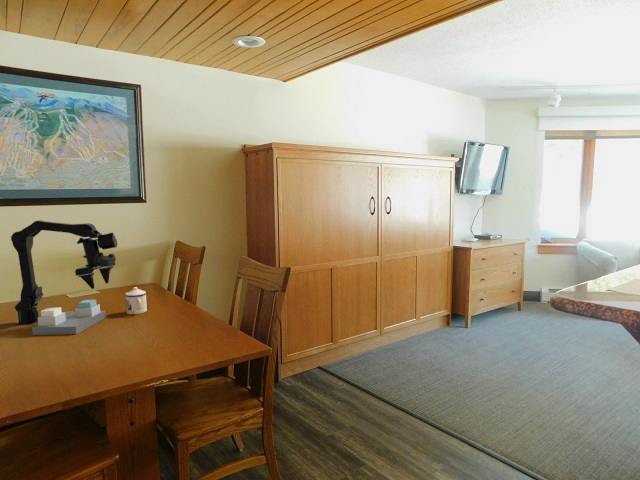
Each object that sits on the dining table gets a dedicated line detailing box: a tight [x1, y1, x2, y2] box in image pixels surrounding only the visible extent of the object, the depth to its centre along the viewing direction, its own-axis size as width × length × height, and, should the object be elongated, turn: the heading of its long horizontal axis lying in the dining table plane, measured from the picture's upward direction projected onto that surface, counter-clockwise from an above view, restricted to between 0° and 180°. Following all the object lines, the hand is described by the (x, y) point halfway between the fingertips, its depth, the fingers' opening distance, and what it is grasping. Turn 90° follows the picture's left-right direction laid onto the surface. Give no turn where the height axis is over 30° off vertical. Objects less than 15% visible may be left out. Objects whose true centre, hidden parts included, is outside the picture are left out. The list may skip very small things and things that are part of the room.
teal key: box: [77, 299, 97, 308], centre depth 180 cm, size 5×5×3 cm
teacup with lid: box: [124, 286, 148, 315], centre depth 192 cm, size 12×9×12 cm
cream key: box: [40, 306, 63, 317], centre depth 168 cm, size 5×5×3 cm
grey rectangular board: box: [31, 303, 107, 336], centre depth 175 cm, size 17×23×6 cm
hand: (100, 285), depth 186 cm, fingers open, 9 cm apart
